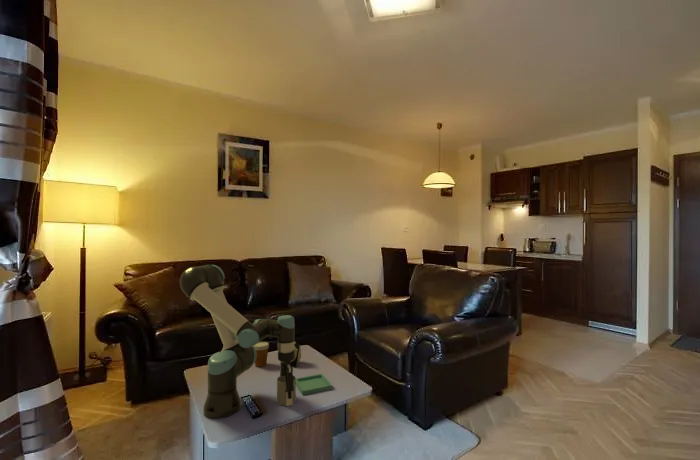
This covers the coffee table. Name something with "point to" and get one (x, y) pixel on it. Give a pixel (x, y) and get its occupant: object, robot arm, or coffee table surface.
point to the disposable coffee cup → (261, 353)
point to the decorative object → (296, 355)
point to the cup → (281, 390)
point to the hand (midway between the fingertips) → (286, 399)
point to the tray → (313, 384)
